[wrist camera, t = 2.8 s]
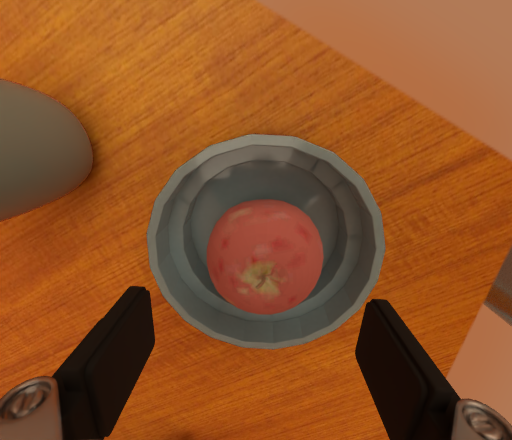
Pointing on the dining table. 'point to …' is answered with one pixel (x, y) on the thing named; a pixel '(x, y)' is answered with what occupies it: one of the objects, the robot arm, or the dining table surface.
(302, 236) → the apple
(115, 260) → the dining table surface
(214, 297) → the bowl
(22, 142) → the cup
